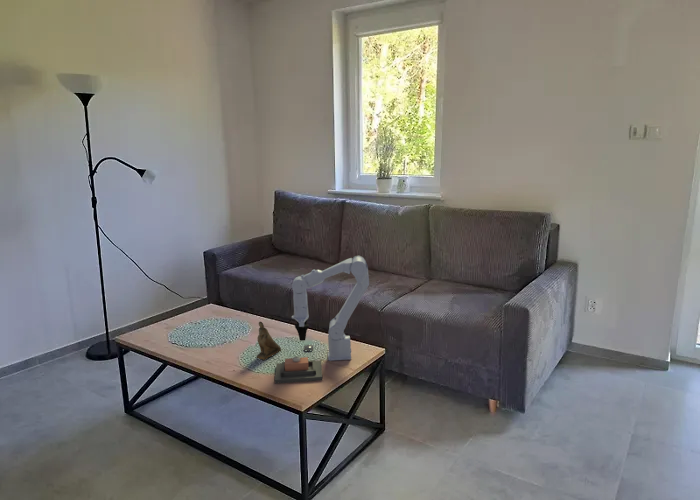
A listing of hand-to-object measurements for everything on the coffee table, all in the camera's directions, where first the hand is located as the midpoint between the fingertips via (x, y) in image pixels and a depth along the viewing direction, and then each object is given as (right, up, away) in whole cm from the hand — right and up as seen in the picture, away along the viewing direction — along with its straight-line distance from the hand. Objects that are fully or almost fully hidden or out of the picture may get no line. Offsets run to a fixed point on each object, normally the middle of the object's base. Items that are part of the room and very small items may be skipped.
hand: (302, 336), depth 208 cm
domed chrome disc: (+2, -8, +10) cm, 13 cm away
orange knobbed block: (-1, -11, -12) cm, 17 cm away
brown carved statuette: (-15, -9, +7) cm, 19 cm away
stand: (0, -12, -12) cm, 17 cm away
